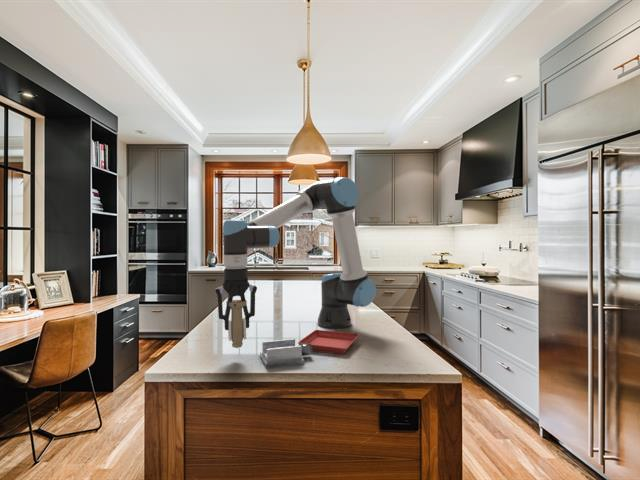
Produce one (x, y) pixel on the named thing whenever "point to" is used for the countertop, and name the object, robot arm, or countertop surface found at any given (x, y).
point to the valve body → (283, 353)
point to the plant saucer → (329, 341)
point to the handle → (237, 322)
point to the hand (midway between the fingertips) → (237, 338)
